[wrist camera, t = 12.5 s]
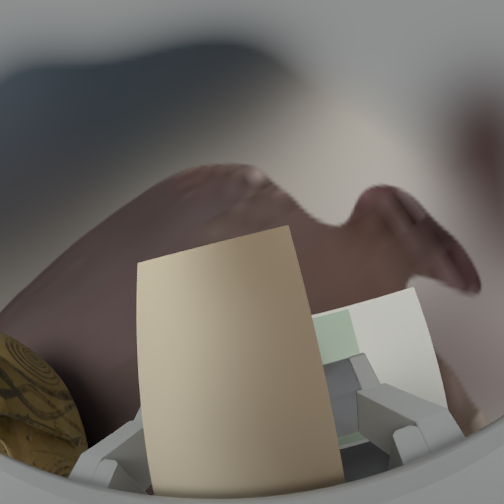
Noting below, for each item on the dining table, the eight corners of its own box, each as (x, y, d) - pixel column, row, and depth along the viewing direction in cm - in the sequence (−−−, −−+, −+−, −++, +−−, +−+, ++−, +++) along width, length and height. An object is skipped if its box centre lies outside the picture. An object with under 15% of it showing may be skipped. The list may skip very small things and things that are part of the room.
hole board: (193, 585, 10) (182, 597, 8) (151, 352, 22) (135, 346, 20) (448, 545, 8) (458, 555, 6) (406, 297, 20) (414, 285, 18)
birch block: (254, 445, 14) (155, 499, 4) (238, 346, 17) (137, 263, 7) (326, 432, 13) (346, 488, 4) (305, 332, 16) (288, 225, 7)
